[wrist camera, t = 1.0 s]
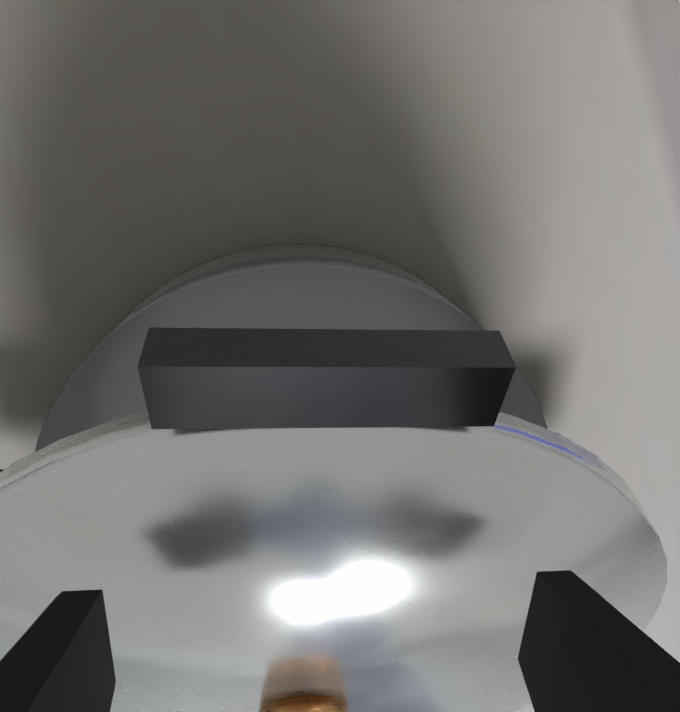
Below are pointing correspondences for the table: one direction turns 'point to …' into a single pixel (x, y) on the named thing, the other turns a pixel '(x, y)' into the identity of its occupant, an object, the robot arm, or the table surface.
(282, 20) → the table surface
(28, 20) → the table surface
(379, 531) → the lid
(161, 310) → the cooker pot
